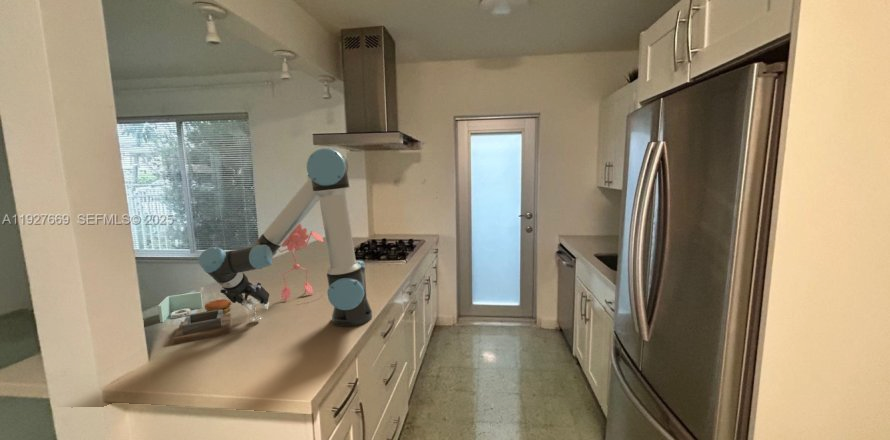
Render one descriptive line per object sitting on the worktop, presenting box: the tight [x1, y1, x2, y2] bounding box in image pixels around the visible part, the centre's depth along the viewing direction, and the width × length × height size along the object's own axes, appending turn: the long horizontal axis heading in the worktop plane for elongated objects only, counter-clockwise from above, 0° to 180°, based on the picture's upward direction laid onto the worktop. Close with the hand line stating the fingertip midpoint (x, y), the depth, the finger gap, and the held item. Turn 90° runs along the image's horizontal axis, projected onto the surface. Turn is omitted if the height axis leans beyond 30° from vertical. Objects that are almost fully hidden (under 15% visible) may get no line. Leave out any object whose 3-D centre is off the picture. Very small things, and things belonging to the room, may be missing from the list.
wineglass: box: [244, 294, 263, 322], centre depth 135 cm, size 6×6×12 cm
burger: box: [204, 298, 232, 314], centre depth 148 cm, size 10×9×5 cm
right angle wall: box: [157, 291, 204, 323], centre depth 145 cm, size 12×12×8 cm
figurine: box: [277, 223, 325, 306], centre depth 157 cm, size 15×26×35 cm, turn 131°
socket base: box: [173, 309, 232, 345], centre depth 130 cm, size 16×16×5 cm
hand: (259, 306), depth 139 cm, fingers closed on wineglass, 6 cm apart
